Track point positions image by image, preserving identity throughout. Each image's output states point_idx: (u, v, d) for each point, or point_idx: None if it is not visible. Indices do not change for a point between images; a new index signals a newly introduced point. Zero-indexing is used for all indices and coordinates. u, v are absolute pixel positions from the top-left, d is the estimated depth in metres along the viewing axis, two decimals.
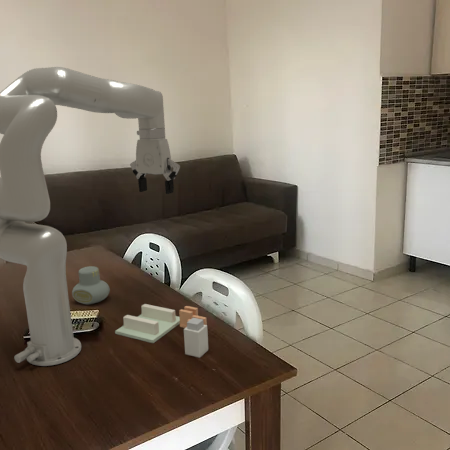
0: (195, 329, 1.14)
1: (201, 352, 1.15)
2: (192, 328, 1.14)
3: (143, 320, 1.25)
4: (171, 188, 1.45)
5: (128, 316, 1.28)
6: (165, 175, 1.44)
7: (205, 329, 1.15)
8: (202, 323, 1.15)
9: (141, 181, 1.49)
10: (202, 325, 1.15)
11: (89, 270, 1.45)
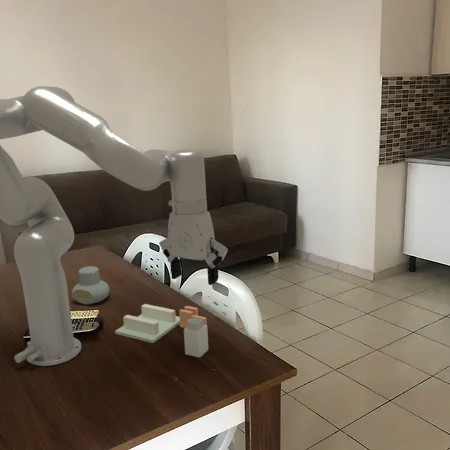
0: (195, 329, 1.14)
1: (201, 352, 1.15)
2: (192, 328, 1.14)
3: (143, 320, 1.25)
4: (215, 277, 1.09)
5: (128, 316, 1.28)
6: (208, 261, 1.07)
7: (205, 329, 1.15)
8: (202, 323, 1.15)
9: (174, 265, 1.13)
10: (202, 325, 1.15)
11: (89, 270, 1.45)
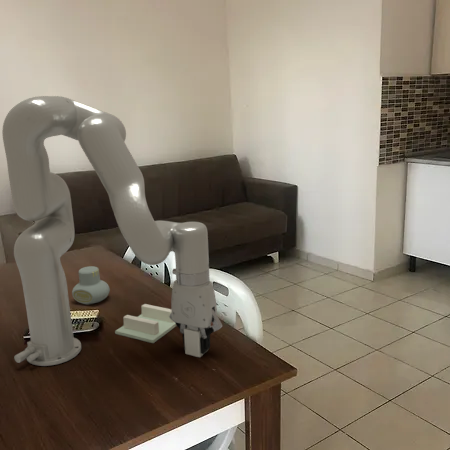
0: (195, 329, 1.14)
1: None
2: (192, 328, 1.14)
3: (143, 320, 1.25)
4: (207, 346, 1.14)
5: (128, 316, 1.28)
6: (202, 331, 1.13)
7: None
8: None
9: None
10: None
11: (89, 270, 1.45)
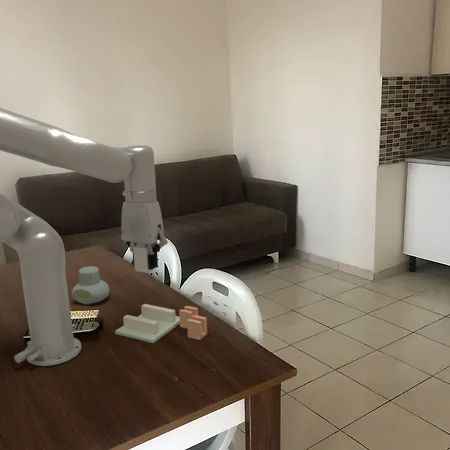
0: (143, 246, 1.23)
1: None
2: (141, 245, 1.23)
3: (143, 320, 1.25)
4: (155, 263, 1.24)
5: (128, 316, 1.28)
6: (149, 247, 1.22)
7: None
8: None
9: None
10: None
11: (89, 270, 1.45)
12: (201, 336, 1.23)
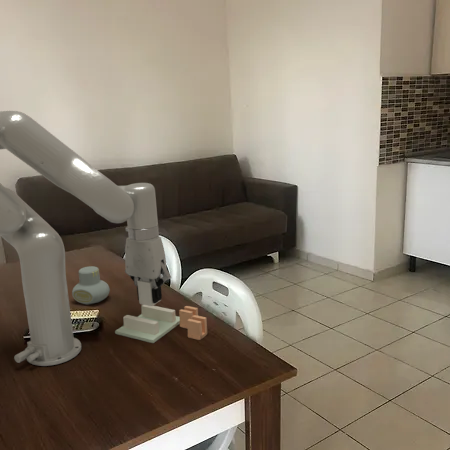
0: (147, 280, 1.25)
1: None
2: (144, 279, 1.26)
3: (143, 320, 1.25)
4: (159, 296, 1.26)
5: (128, 316, 1.28)
6: (153, 282, 1.25)
7: None
8: None
9: None
10: None
11: (89, 270, 1.45)
12: (201, 336, 1.23)
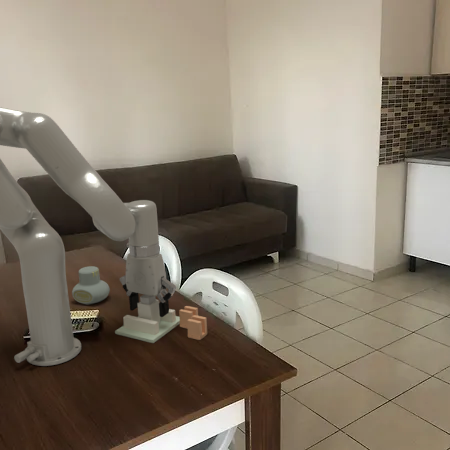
0: (147, 303, 1.27)
1: None
2: (145, 302, 1.27)
3: (143, 320, 1.25)
4: (166, 310, 1.26)
5: (128, 316, 1.28)
6: (159, 296, 1.24)
7: (157, 303, 1.29)
8: (154, 298, 1.28)
9: (132, 299, 1.30)
10: (154, 299, 1.28)
11: (89, 270, 1.45)
12: (201, 336, 1.23)
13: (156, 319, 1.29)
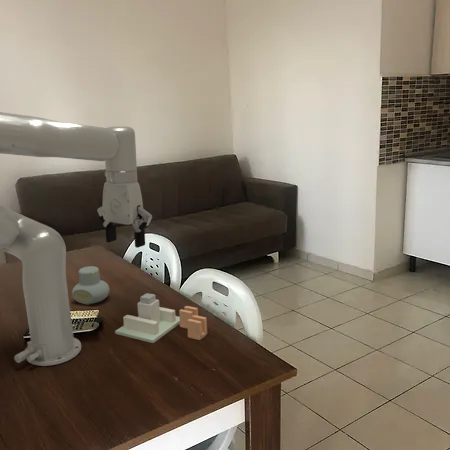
0: (147, 303, 1.27)
1: None
2: (145, 302, 1.27)
3: (143, 320, 1.25)
4: (142, 241, 1.23)
5: (128, 316, 1.28)
6: (135, 226, 1.21)
7: (157, 303, 1.29)
8: (154, 298, 1.28)
9: (109, 230, 1.27)
10: (154, 299, 1.28)
11: (89, 270, 1.45)
12: (201, 336, 1.23)
13: (156, 319, 1.29)
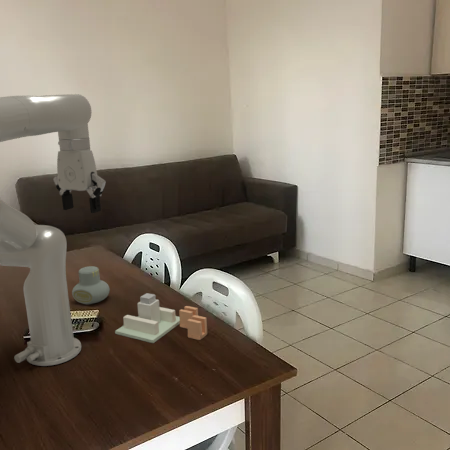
0: (147, 303, 1.27)
1: None
2: (145, 302, 1.27)
3: (143, 320, 1.25)
4: (97, 206, 1.27)
5: (128, 316, 1.28)
6: (89, 192, 1.26)
7: (157, 303, 1.29)
8: (154, 298, 1.28)
9: (65, 198, 1.31)
10: (154, 299, 1.28)
11: (89, 270, 1.45)
12: (201, 336, 1.23)
13: (156, 319, 1.29)
